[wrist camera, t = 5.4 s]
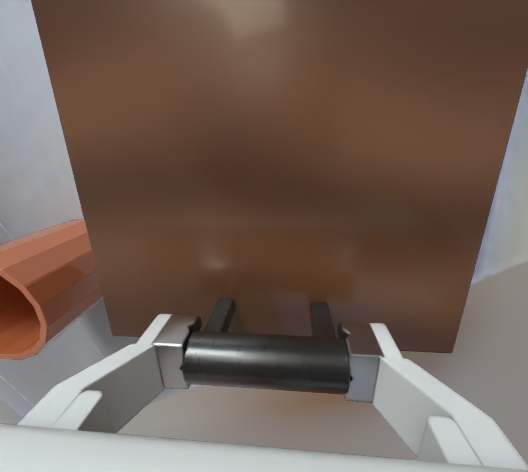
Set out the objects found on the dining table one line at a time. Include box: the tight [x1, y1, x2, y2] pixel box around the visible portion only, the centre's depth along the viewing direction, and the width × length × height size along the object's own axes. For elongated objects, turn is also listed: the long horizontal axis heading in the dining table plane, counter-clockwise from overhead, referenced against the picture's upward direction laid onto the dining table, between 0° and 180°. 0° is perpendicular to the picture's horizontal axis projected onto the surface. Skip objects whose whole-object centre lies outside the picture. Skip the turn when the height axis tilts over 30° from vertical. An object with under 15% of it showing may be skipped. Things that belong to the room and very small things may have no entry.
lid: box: [31, 0, 528, 394], centre depth 8 cm, size 14×16×5 cm
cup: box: [0, 220, 103, 360], centre depth 18 cm, size 6×6×8 cm
